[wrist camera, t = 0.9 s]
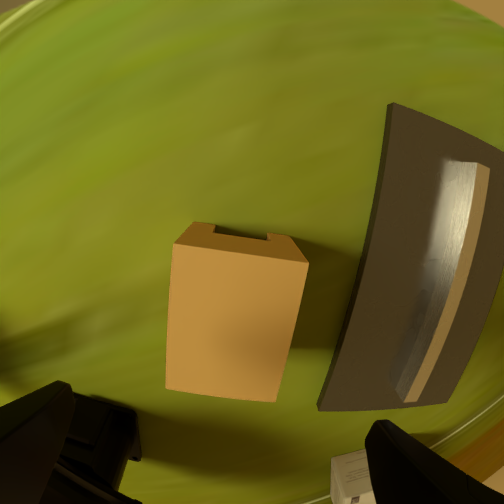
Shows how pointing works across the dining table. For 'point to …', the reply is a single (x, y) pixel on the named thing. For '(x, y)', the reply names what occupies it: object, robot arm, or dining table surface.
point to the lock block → (232, 312)
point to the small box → (351, 479)
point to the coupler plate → (421, 268)
